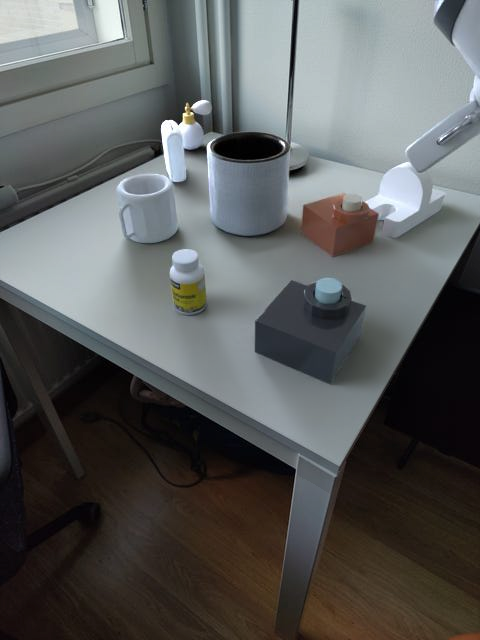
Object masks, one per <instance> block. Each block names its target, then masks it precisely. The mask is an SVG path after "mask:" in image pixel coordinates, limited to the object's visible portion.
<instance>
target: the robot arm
mask: <svg viewBox="0 0 480 640" xmlns="http://www.w3.org/2000/svg"><path fill="white" fill-rule="evenodd" d="M433 7H434V8H433V25H434V26H435V27H436V28H437V29H438V30H439V31H440V32H441V34H442V35H443V36H444V37H445V38H446V39H447V41H448V42H449V43H450V44H451V45H452V46H453V47H455V48H456V49H457V51H458V52H459V54H460V55H461V56H462V57H463V59H464V60H465V62H466V63H467V64H468V65H467V66H469V67H470V69H471V70H472V72H473V73H474V74H475V75H474V79H473V87H472V89H471V91H470V94H469V102H468V103H466V104H464V105H463V106H461V107H460V108H457V110H455V111H454V112H451V113H450V114H449V115H448V116H446V117H445V118H443V119H442V120H441V121H439V122H438V123H436V124H435V125H434V126H433V127H431V128H430V129H428V131H426V132H425V133H423V135H421V136H420V137H419V138H417V139H416V140H414V141H413V142H412V143H411V144H409V145H408V147H407V148H406V149H405V151H404V154H405V157H406V159H407V161H408V162H410V163H411V165H412V166H413V168H414V169H415V170H416V171H417V172H418V173H422V172H425V171H426V170H427V171H428V170H429V169H431V168H432V167H434V166H435V165H436V164H438V163H439V162H441V161H442V160H444V159H445V158H447V157H448V156H449V155H451V154H452V153H454V152H455V151H457V150H458V149H460V148H461V147H463V146H464V145H466V144H467V143H469V142H470V141H471V140H473V139H474V138H475V137H477V136H478V135H480V0H434V6H433Z"/></svg>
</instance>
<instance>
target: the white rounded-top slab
mask: <svg viewBox="0 0 480 640" xmlns="http://www.w3.org/2000/svg"><path fill="white" fill-rule="evenodd" d="M160 132H161V139H162V146H163V156H164V162H165V168H166V172H167V174H168V176H169V177H168V178H169V179H170V180H171V181H172V182H174V183H182V182H185V181H186V180H187V169H186V168H187V167H186V159H185V148H184V147H183V137H182V133H181V130H180V128H179V125H178V123H177V122H176V121H174V120H172V119H170V120H165V121H163V122H162V124H161V128H160Z"/></svg>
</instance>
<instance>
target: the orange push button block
mask: <svg viewBox="0 0 480 640" xmlns="http://www.w3.org/2000/svg"><path fill="white" fill-rule="evenodd" d="M347 194H348V193H345V192H342V193H339V194H335V195H332V196H328V197H325V198H322V199H319V200H316V201H313V202H310V203H306V204H303V207H302V217H301V229H300V234H301V235H302V236H304V237H305V238H307V239H308V240H309V241H310V242H312V243H313V244H314V245H316V246H317V247H319V248H320V249H321V250H322V251H324V252H325V253H326V254H328V255H329V257H330V256H331V257H332V258H334V257H337V256H339V255H342V254H344V253H347V252H351V251H353V250H356V249H358V248H361V247H363V246H366V245H368V244H372V243H374V239H375V234H376V229H377V225H378V221H379V220H378V215H379V213H377V212H376V211H374V210H372V209H371V208H369V206H368V204H367V203H365V201H363V200H362V205H361V210H360V211H357V212H349V211H345V210H343V209H342V203H343V197H344V196H345V195H347ZM377 220H378V221H377Z"/></svg>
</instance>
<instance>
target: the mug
mask: <svg viewBox="0 0 480 640" xmlns="http://www.w3.org/2000/svg"><path fill="white" fill-rule="evenodd" d="M116 196H117V200H118V203H119V207H120V209H119V210H118V218H119V223H120V227H121V232H122V237H123V238H124V239H128V240H131V241H133V242H136V243H142V244H155V243H159V242H164V241H166V240H168V239H170V238H172V237H173V236H174V235H176V233H177V231H178V229H179V222H178V214H177V206H176V197H175V187H174V183H173V181H172V180H171V179H170V177H168V176H165V175H163V174H159V173H142V174H136V175H132V176H128V177H126V178H125V179H123V180H121V181H119V183H118V185H117V186H116Z"/></svg>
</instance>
